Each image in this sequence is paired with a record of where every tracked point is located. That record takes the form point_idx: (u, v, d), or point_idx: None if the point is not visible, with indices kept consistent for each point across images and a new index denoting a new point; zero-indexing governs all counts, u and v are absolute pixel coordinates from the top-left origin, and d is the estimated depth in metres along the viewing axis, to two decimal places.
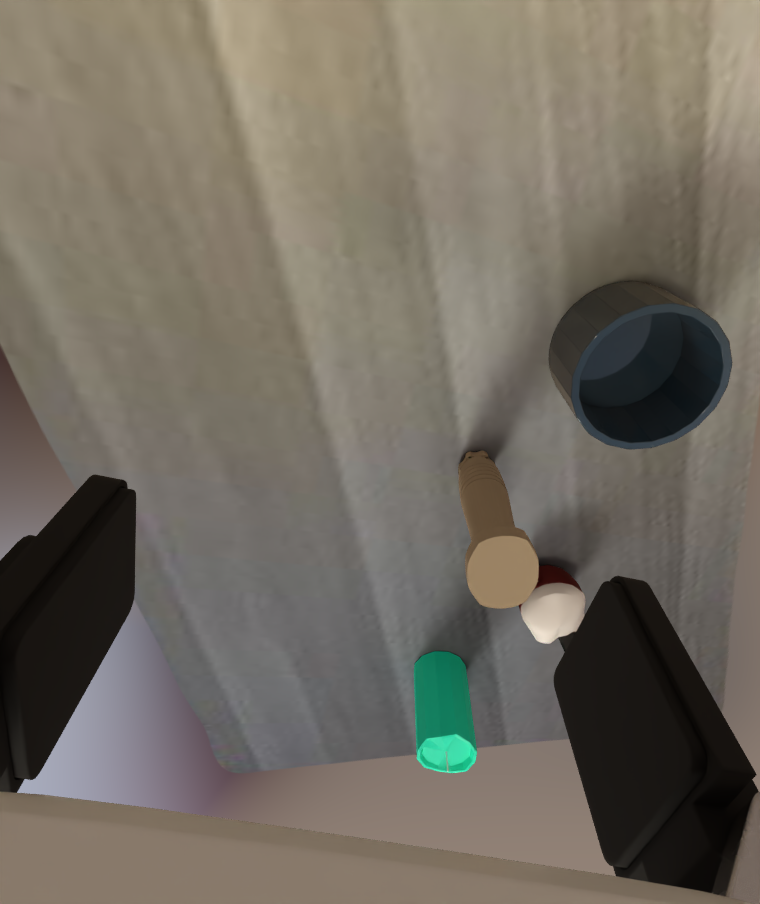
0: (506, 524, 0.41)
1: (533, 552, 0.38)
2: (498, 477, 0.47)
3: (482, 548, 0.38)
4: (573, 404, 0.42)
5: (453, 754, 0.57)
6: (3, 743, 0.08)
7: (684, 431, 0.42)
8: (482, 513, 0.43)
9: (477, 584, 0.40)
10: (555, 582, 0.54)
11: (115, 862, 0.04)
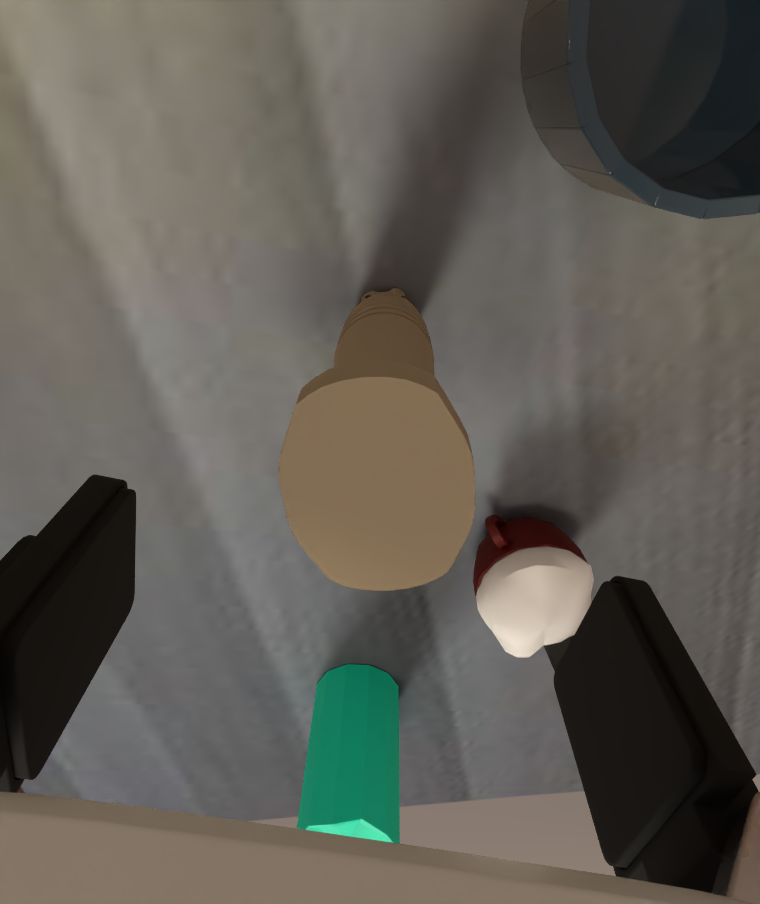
0: None
1: (456, 430, 0.13)
2: (413, 316, 0.22)
3: (310, 419, 0.13)
4: (572, 84, 0.17)
5: None
6: (3, 743, 0.08)
7: None
8: None
9: (315, 527, 0.15)
10: (538, 546, 0.29)
11: (115, 863, 0.04)
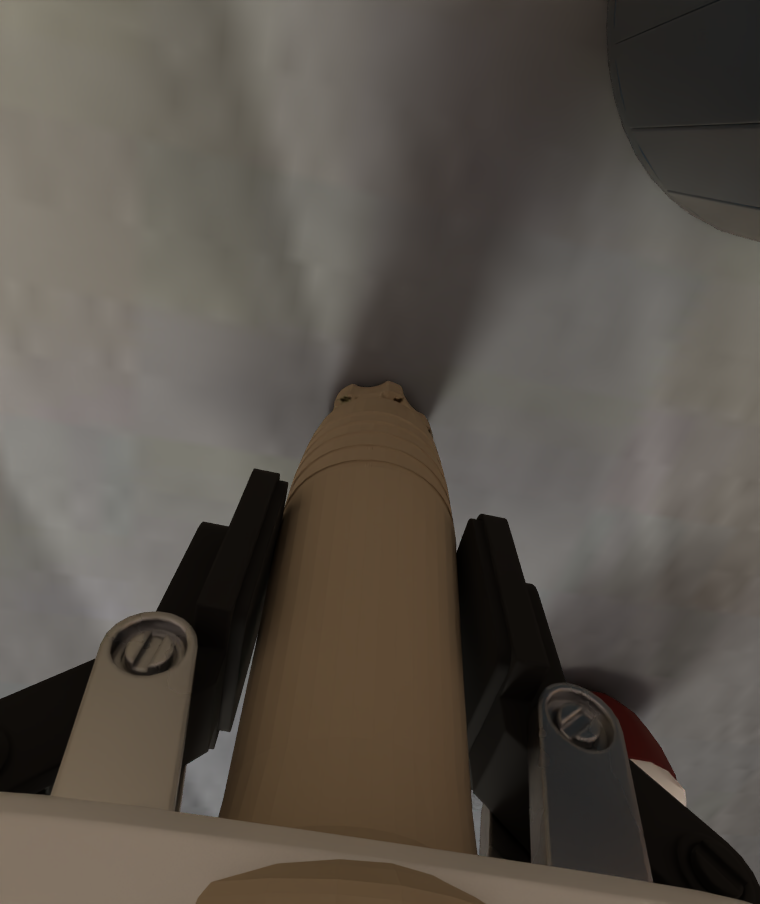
0: (403, 723, 0.07)
1: None
2: (419, 459, 0.13)
3: None
4: None
5: None
6: (220, 696, 0.09)
7: None
8: (294, 636, 0.08)
9: None
10: None
11: (115, 862, 0.04)
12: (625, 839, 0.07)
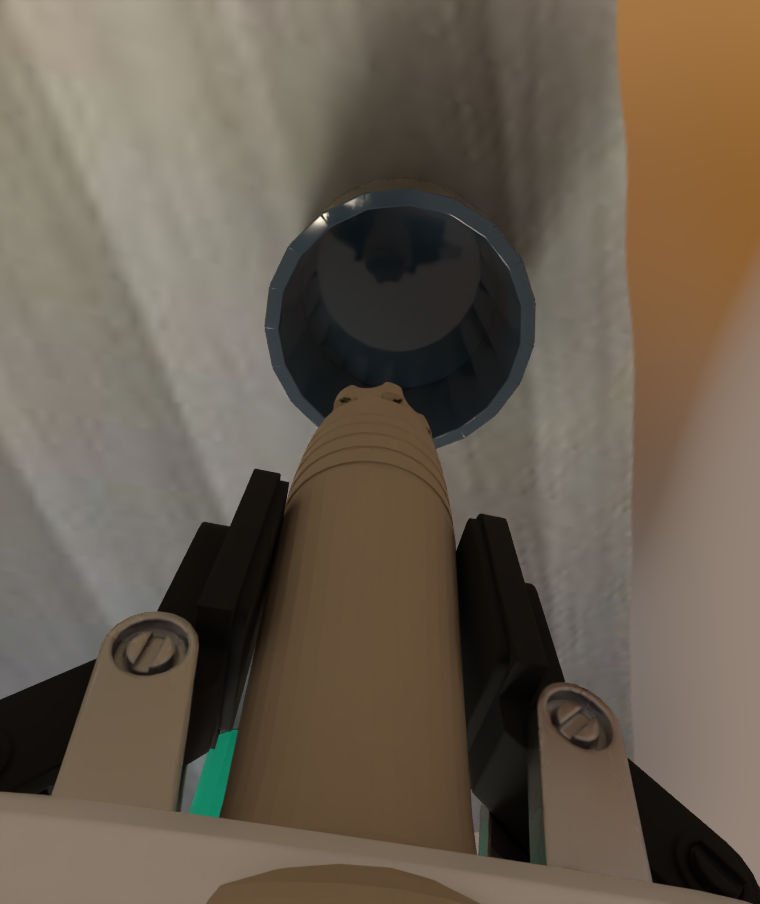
0: (402, 725, 0.07)
1: None
2: (418, 460, 0.13)
3: None
4: (279, 378, 0.24)
5: None
6: (221, 697, 0.09)
7: (475, 423, 0.25)
8: (293, 638, 0.08)
9: None
10: None
11: (115, 862, 0.04)
12: (624, 839, 0.07)
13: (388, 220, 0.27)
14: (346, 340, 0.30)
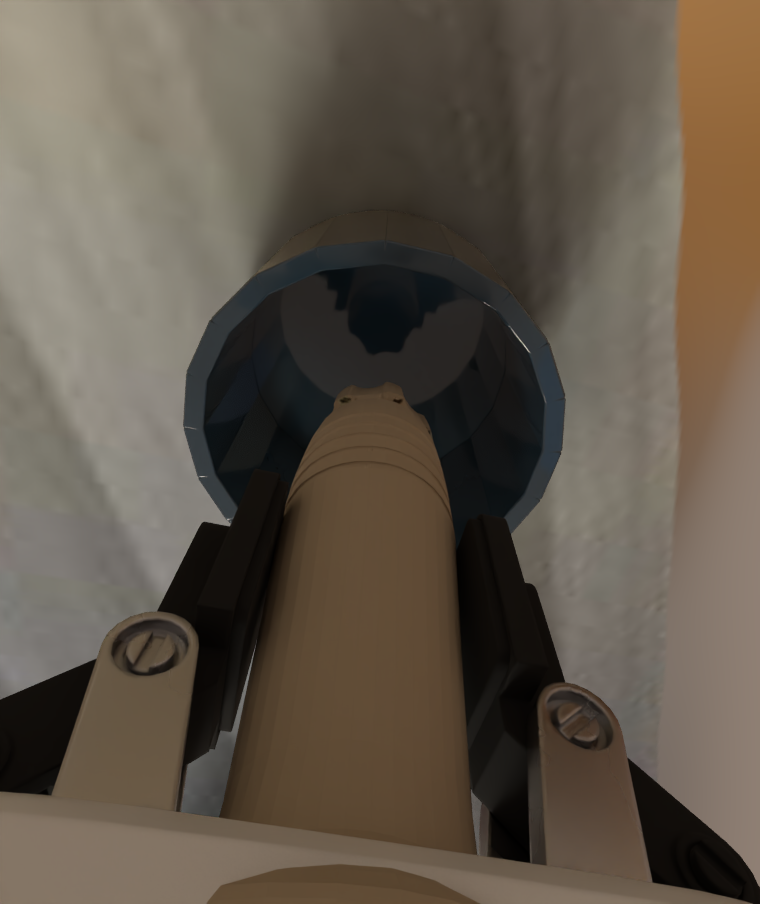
0: (403, 725, 0.07)
1: None
2: (418, 460, 0.13)
3: None
4: (208, 491, 0.18)
5: None
6: (221, 697, 0.09)
7: None
8: (294, 638, 0.08)
9: None
10: None
11: (115, 862, 0.04)
12: (624, 839, 0.07)
13: None
14: (311, 414, 0.23)
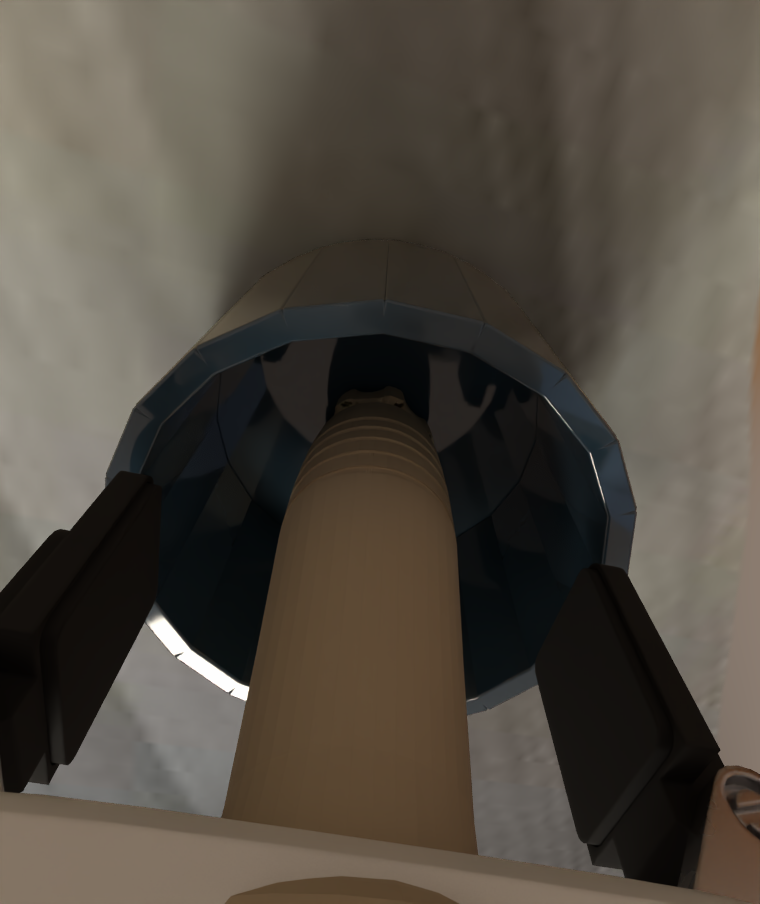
0: (404, 732, 0.07)
1: None
2: (420, 464, 0.13)
3: None
4: (146, 621, 0.13)
5: None
6: (42, 728, 0.08)
7: (509, 691, 0.14)
8: (294, 644, 0.08)
9: None
10: None
11: (115, 863, 0.04)
12: None
13: None
14: None
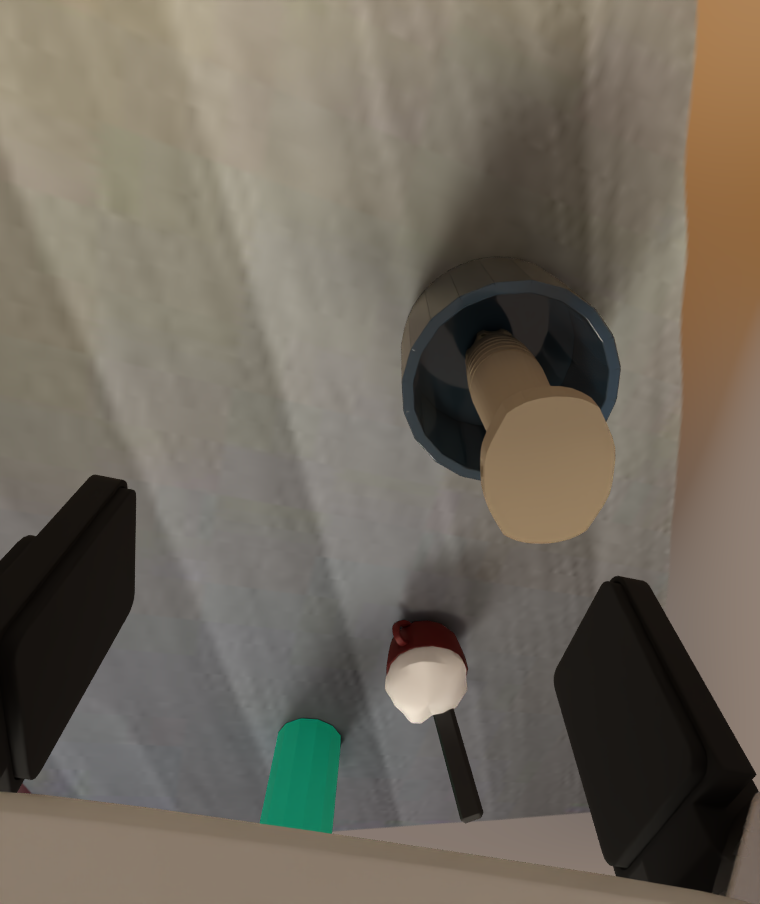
0: None
1: (607, 432, 0.21)
2: (530, 352, 0.30)
3: (514, 422, 0.21)
4: (408, 420, 0.30)
5: None
6: (3, 743, 0.08)
7: None
8: (508, 389, 0.25)
9: (501, 496, 0.22)
10: (427, 646, 0.42)
11: (115, 862, 0.04)
12: None
13: None
14: (443, 384, 0.36)
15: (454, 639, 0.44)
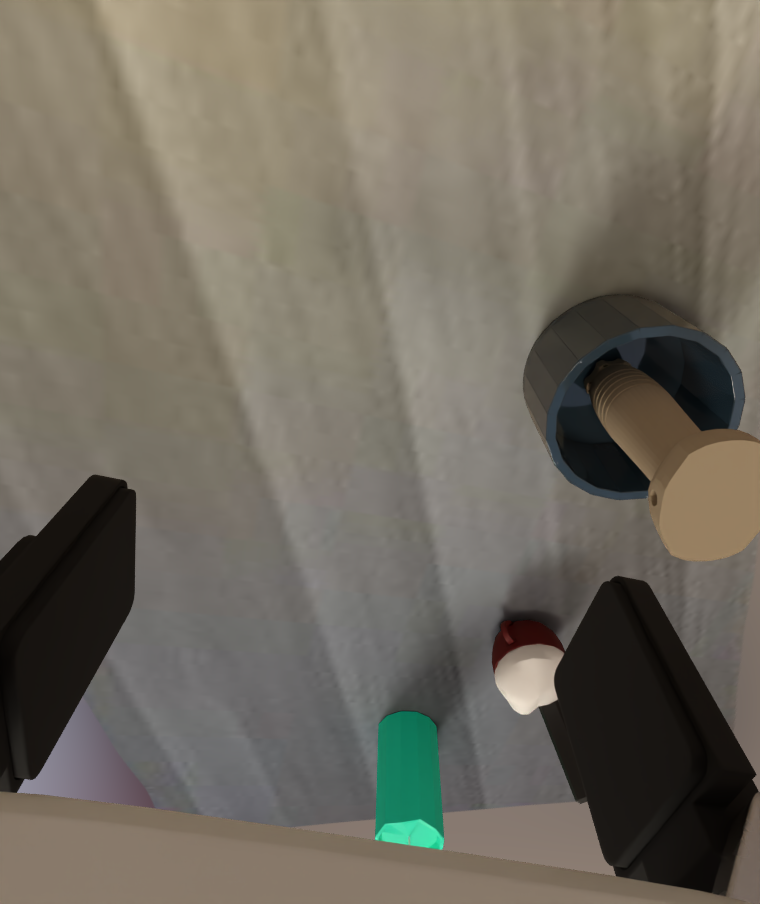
0: None
1: None
2: (659, 385, 0.33)
3: (694, 462, 0.24)
4: (549, 447, 0.34)
5: (417, 839, 0.49)
6: (3, 743, 0.08)
7: None
8: (660, 424, 0.29)
9: (674, 522, 0.26)
10: (534, 644, 0.46)
11: (115, 863, 0.04)
12: None
13: None
14: (561, 408, 0.39)
15: (555, 637, 0.48)
